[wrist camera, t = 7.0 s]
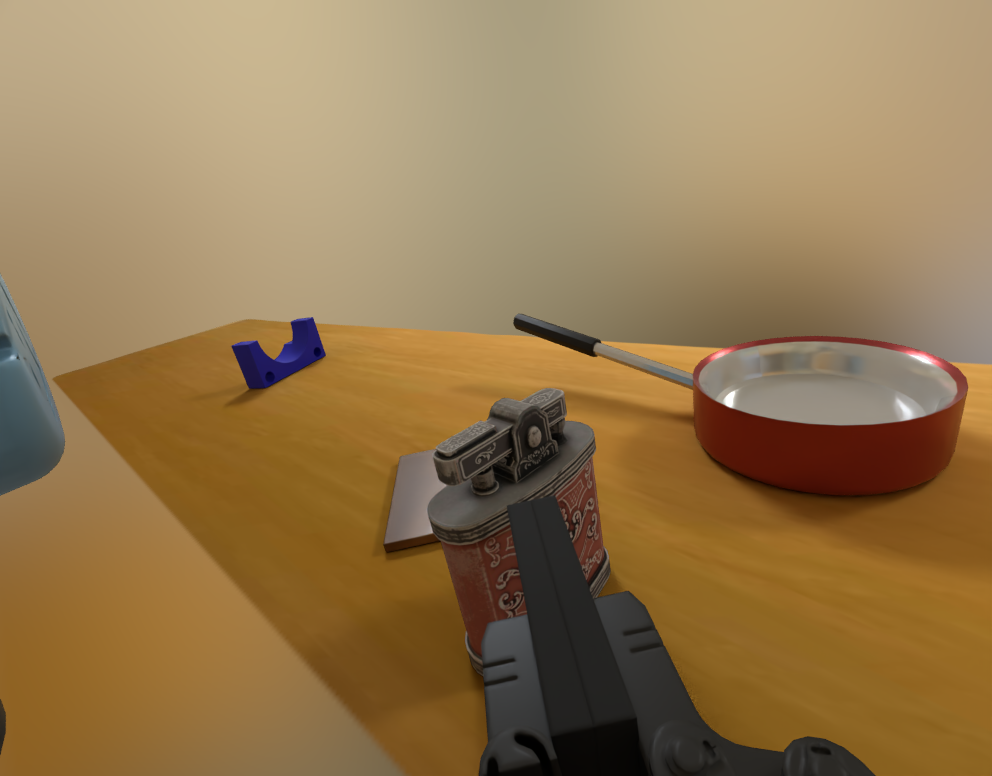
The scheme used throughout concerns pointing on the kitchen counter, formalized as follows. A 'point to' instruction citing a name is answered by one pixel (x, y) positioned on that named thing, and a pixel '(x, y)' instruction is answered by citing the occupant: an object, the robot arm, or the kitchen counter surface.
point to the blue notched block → (291, 359)
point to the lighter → (509, 480)
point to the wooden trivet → (412, 502)
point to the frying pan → (812, 408)
